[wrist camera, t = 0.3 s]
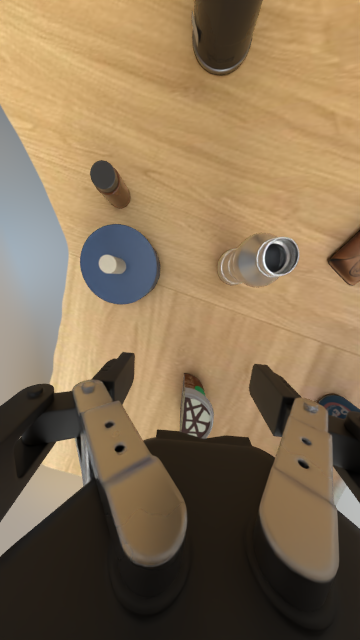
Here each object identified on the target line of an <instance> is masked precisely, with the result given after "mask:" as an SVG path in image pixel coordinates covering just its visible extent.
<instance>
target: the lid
mask: <svg viewBox="0 0 360 640" xmlns="http://www.w3.org/2000/svg"><path fill="white" fill-rule="evenodd" d="M80 266H81V272H82V275H83V278H84V280H85V282H86V284H87V285H88V287H89V288H90V289H91V291H92V292H93V293H94V294H96V295H97V296H98V297H99V298H101V299H103V300H105V301H107V302H110V303H114V304H129V303H133V302H135V301H137V300H139V299H141V298H142V297H144V296H145V295H146V294H147V293H148V292H149V291H150V289H151V288H152V286H153V284H154V282H155V279H156V275H157V259H156V255H155V252H154V250H153V248H152V246H151V244H150V243H149V241H148V240H147V239H146V238H145V237H144V236H143V235H142V234H141V233H140V232H138V231H137V230H135V229H133V228H131V227H129V226H125V225H120V224H112V225H107V226H103V227H101V228H99V229H97V230H96V231H94V232H93V233H92V234H91V235H90V236H89V237H88V239H87V240H86V242H85V243H84V246H83V248H82V251H81V257H80Z"/></svg>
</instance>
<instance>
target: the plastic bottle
mask: <svg viewBox="0 0 360 640" xmlns="http://www.w3.org/2000/svg"><path fill="white" fill-rule="evenodd" d="M298 260H299V248H298V246H297V244H296V243H295V242H294V241H293V240H292V239H290V238H288V237H277V236H275V235H272V234H269V233H256V234H254V235H251V236H250V237H248V238H246V239H245V240H244V241H243V242H242V243H241V244H240V245H239V247H238V248H235V249H230V250H228V251H226V252H225V253H224V254H223V255H222V256H221V257H220V259H219V261H218V266H217V271H218V275H219V277H220V278H221V280H222V281H223V282H225V283H226V284H229V285H238V284H241V283H244V284H246V285H248V286H252V287H264V286H267V285H269V284H271V283H272V282H274V281H275V280H276V279H278V278H279V277H280V276H283V275H286V274H288V273H290V272H291V271H292V270H293V269H294V268H295V266H296V265H297V263H298Z"/></svg>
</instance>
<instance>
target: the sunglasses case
mask: <svg viewBox="0 0 360 640" xmlns="http://www.w3.org/2000/svg"><path fill="white" fill-rule="evenodd" d="M329 264H330V265H331V267H332V268H333V269H334V270H335V271H336V272H337V273H338V274H339V275H340V276H341V277H342V278H343V279H344V280H345V281H346V282H347V283H348V284H349V285H355V284H356V283H358V282H359V281H360V231H359V232H358V233H357V234H356V235H355V236H354V237H353V238H352V239H351V240H349V241H348V242H347V243H346V244H345V245H344V246H343V247H342V248H341V249H340V250H339V251H338V252H337V253H335V254H334V255H333V256H332V257H331V259H330V261H329Z"/></svg>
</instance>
